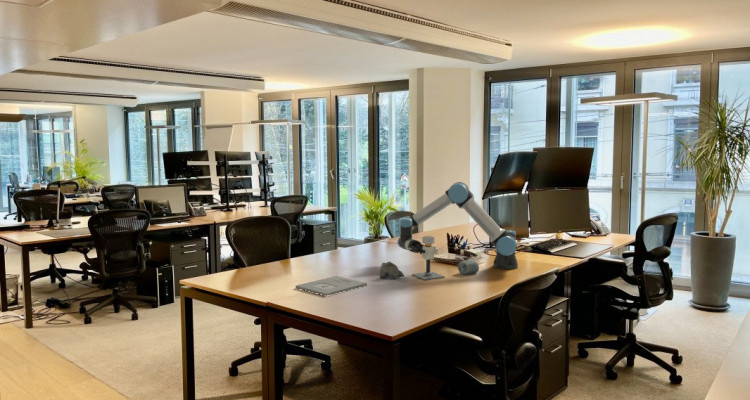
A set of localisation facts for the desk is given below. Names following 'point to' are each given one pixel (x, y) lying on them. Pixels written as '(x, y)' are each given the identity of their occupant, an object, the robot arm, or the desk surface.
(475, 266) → the grey oval lump
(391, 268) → the mineral rock
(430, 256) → the sleeve
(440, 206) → the robot arm
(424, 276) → the stand
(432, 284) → the desk surface
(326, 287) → the award plaque
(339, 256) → the desk surface
